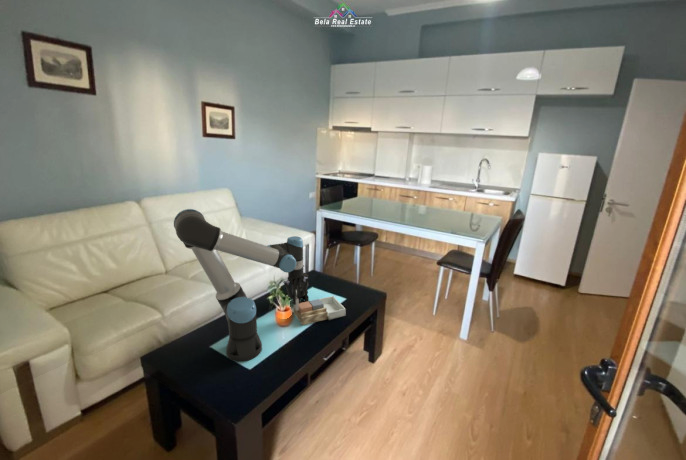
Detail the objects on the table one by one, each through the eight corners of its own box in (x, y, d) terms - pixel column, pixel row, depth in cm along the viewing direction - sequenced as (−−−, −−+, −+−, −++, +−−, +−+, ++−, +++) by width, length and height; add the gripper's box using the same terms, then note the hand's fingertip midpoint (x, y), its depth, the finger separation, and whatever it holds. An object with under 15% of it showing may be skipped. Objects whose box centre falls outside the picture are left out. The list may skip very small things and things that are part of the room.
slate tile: (313, 311, 167) (313, 306, 166) (309, 306, 172) (309, 301, 172) (323, 308, 170) (323, 303, 169) (319, 303, 175) (319, 298, 174)
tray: (328, 319, 167) (328, 313, 166) (317, 305, 181) (317, 299, 180) (345, 315, 172) (346, 309, 170) (333, 302, 185) (333, 296, 184)
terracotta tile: (301, 314, 164) (301, 308, 164) (297, 308, 170) (297, 303, 169) (312, 311, 167) (312, 306, 166) (308, 306, 172) (308, 301, 171)
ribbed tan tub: (302, 325, 162) (302, 315, 160) (293, 312, 174) (293, 303, 172) (327, 319, 168) (327, 309, 166) (317, 306, 180) (317, 297, 178)
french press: (313, 302, 184) (313, 265, 178) (300, 308, 177) (300, 270, 171) (299, 295, 192) (298, 260, 185) (287, 301, 185) (286, 264, 178)
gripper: (285, 272, 153) (286, 315, 160) (310, 267, 159) (311, 309, 166) (280, 266, 160) (282, 308, 166) (305, 262, 165) (305, 303, 172)
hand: (296, 309), depth 166 cm, fingers closed
